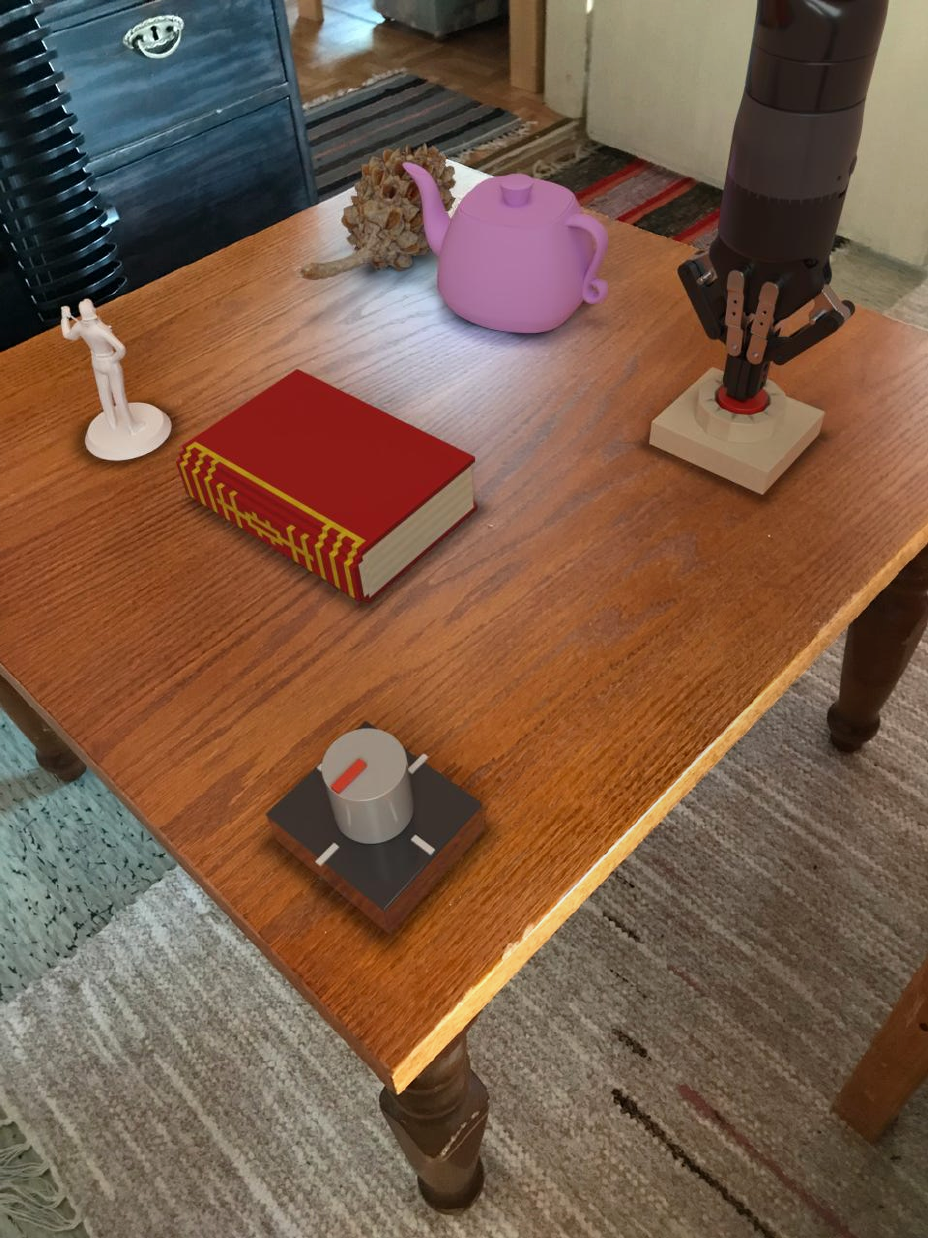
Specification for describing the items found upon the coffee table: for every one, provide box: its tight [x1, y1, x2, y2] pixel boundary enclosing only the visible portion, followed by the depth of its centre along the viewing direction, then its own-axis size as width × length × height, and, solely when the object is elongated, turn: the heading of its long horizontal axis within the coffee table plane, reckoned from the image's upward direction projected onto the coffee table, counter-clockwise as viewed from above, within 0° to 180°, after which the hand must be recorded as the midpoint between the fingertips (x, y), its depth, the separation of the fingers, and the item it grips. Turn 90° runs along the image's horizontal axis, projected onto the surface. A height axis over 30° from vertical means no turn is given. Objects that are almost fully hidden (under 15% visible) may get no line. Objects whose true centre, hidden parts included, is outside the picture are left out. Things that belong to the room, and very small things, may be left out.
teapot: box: [402, 162, 610, 334], centre depth 88 cm, size 20×13×12 cm, turn 63°
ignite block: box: [648, 366, 826, 496], centre depth 76 cm, size 10×9×4 cm
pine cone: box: [292, 141, 457, 281], centre depth 93 cm, size 22×10×10 cm, turn 152°
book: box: [175, 368, 478, 603], centre depth 73 cm, size 18×13×5 cm
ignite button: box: [717, 386, 767, 415], centre depth 75 cm, size 4×4×2 cm
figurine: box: [60, 298, 172, 461], centre depth 77 cm, size 7×7×12 cm
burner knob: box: [321, 728, 414, 844], centre depth 52 cm, size 4×4×5 cm
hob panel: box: [265, 720, 486, 935], centre depth 55 cm, size 9×9×3 cm
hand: (741, 394), depth 74 cm, fingers closed
